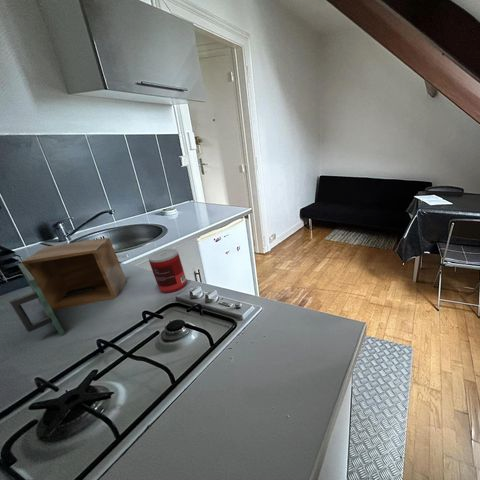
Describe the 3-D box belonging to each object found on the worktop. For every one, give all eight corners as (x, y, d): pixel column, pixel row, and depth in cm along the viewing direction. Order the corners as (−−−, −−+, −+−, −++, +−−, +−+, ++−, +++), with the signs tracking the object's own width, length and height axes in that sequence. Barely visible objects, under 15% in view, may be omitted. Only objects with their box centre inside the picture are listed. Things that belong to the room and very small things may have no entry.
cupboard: (116, 298, 76) (95, 249, 70) (49, 312, 71) (21, 261, 65) (127, 281, 84) (109, 237, 78) (68, 293, 80) (44, 247, 74)
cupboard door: (37, 347, 59) (1, 290, 53) (24, 322, 67) (-8, 271, 61) (65, 334, 62) (34, 279, 56) (50, 312, 71) (22, 262, 65)
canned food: (182, 277, 85) (172, 246, 81) (191, 285, 80) (181, 253, 76) (156, 286, 80) (144, 254, 76) (163, 296, 75) (152, 263, 71)
